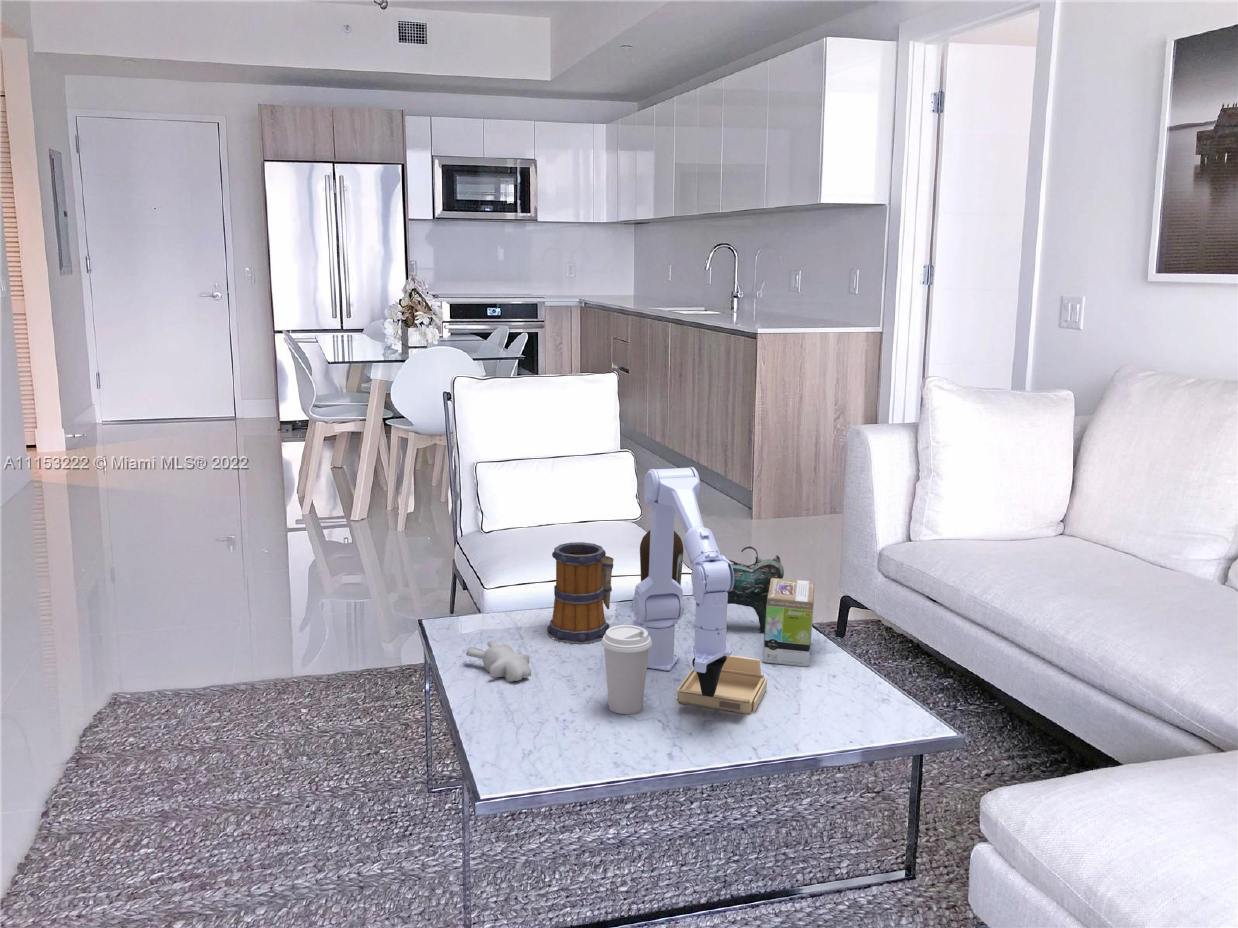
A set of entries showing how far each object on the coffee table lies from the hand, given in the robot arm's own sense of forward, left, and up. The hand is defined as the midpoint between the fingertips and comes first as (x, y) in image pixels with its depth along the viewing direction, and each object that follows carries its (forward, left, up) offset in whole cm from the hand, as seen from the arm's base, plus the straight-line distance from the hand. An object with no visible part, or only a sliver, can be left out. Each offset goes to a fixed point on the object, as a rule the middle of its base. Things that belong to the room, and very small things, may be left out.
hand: (708, 694), depth 184 cm
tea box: (+8, +39, -5) cm, 40 cm away
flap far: (0, +18, -2) cm, 18 cm away
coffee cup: (-16, 0, -5) cm, 17 cm away
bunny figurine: (-46, +6, -5) cm, 46 cm away
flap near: (0, +5, -2) cm, 6 cm away
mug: (-38, +35, -5) cm, 52 cm away
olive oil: (-26, +56, -5) cm, 62 cm away
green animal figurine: (-5, +48, -5) cm, 49 cm away
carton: (0, +12, -5) cm, 13 cm away
